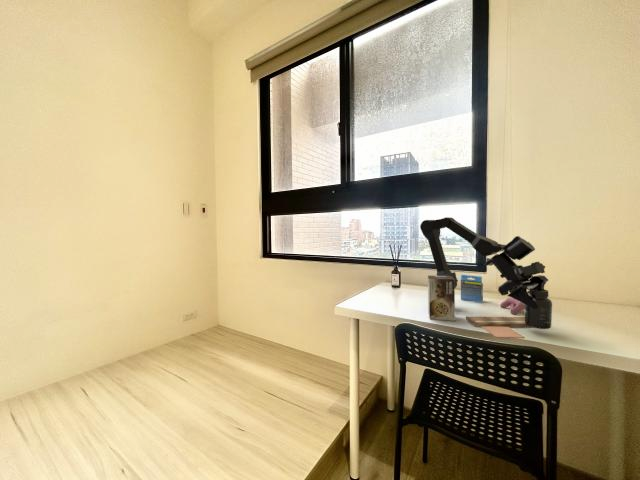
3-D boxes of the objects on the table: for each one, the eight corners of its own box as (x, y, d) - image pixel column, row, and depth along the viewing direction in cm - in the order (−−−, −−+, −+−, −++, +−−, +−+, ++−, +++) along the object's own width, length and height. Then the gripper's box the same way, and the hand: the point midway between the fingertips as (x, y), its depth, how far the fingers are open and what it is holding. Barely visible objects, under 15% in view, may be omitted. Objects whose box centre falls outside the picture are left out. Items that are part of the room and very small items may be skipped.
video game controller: (521, 319, 102) (531, 303, 101) (510, 313, 103) (519, 298, 102) (508, 311, 112) (517, 296, 111) (498, 306, 112) (506, 291, 111)
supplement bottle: (519, 322, 89) (519, 287, 88) (537, 321, 89) (538, 286, 88) (537, 330, 82) (538, 292, 81) (557, 329, 82) (558, 291, 82)
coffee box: (452, 315, 103) (452, 275, 102) (455, 321, 97) (455, 278, 96) (427, 313, 106) (427, 274, 105) (428, 319, 100) (428, 277, 99)
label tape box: (483, 301, 121) (483, 275, 121) (481, 303, 118) (481, 276, 118) (462, 298, 127) (462, 273, 126) (460, 300, 124) (460, 274, 123)
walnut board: (474, 326, 92) (474, 322, 92) (465, 319, 99) (465, 316, 99) (547, 327, 89) (547, 323, 89) (533, 320, 96) (533, 316, 96)
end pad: (496, 337, 83) (496, 336, 83) (481, 327, 91) (481, 326, 91) (524, 337, 82) (524, 337, 82) (507, 327, 90) (507, 326, 90)
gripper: (508, 255, 84) (547, 297, 75) (542, 252, 91) (582, 290, 82) (484, 275, 92) (517, 315, 82) (517, 271, 99) (551, 307, 89)
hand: (543, 307), depth 84 cm, fingers closed on supplement bottle, 7 cm apart
